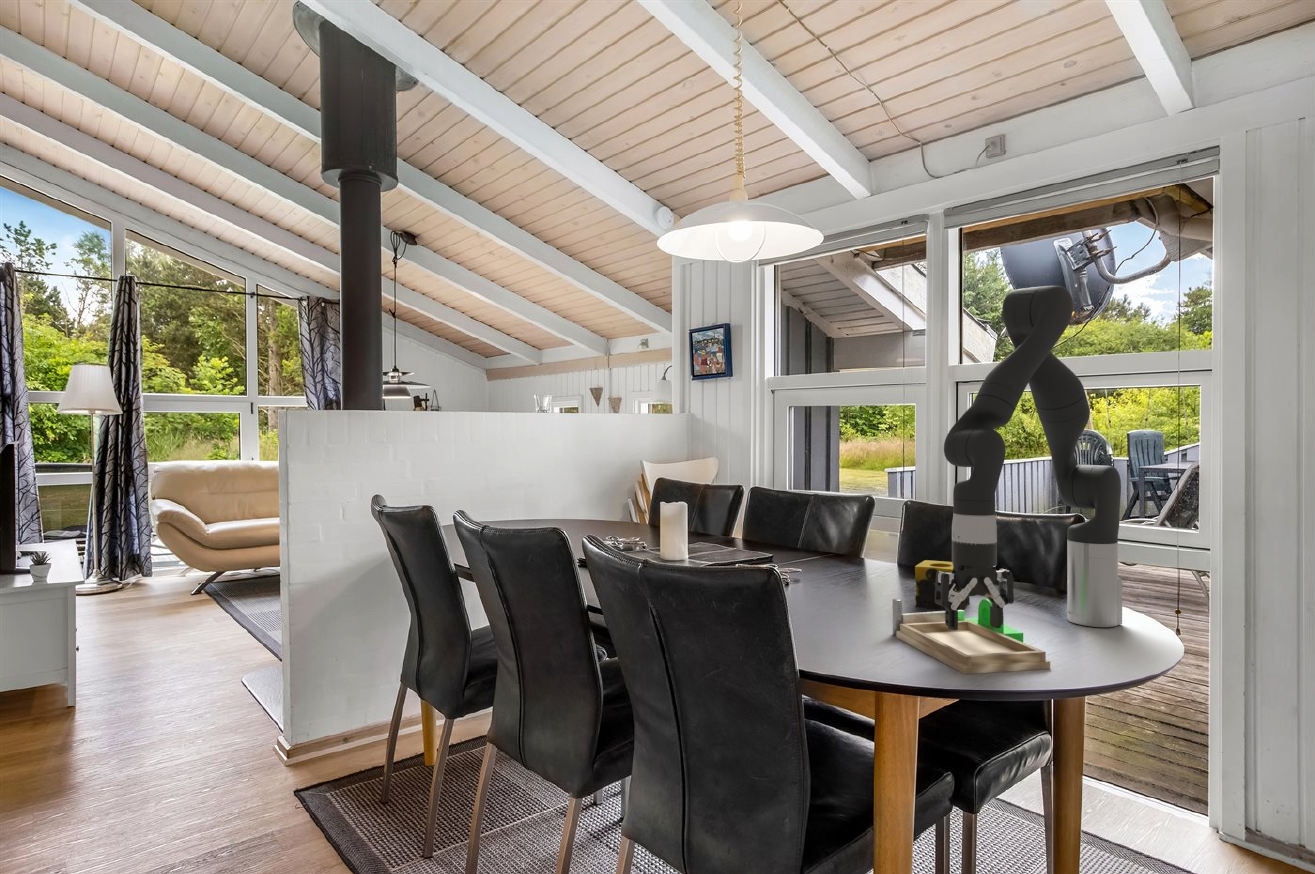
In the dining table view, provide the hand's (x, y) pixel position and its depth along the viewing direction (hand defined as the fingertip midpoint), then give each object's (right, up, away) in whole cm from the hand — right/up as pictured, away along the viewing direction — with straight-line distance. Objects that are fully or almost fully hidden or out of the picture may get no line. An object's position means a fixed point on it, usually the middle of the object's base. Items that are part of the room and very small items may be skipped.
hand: (974, 628), depth 134 cm
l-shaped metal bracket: (-3, -5, +15) cm, 16 cm away
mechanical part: (+9, -5, +14) cm, 17 cm away
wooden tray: (0, -5, +2) cm, 5 cm away
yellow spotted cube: (+9, -5, +37) cm, 38 cm away
